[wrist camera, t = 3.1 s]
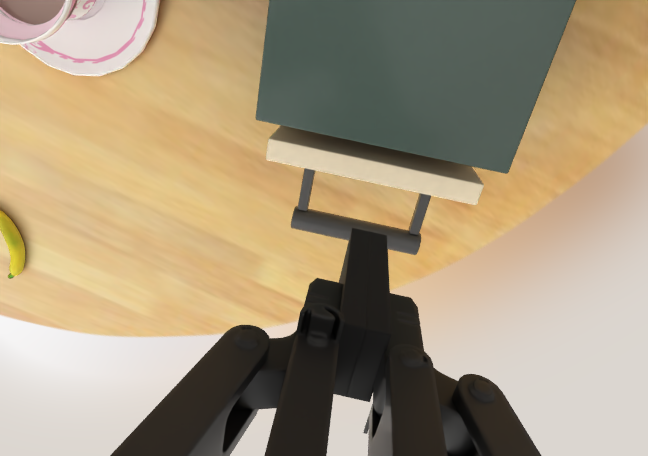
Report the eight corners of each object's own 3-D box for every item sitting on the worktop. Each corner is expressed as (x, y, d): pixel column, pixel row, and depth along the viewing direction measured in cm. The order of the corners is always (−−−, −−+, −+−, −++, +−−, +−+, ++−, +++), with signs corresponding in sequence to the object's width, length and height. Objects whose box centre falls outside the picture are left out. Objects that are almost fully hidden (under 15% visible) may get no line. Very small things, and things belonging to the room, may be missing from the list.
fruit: (5, 198, 36) (-23, 203, 37) (-7, 204, 35) (-36, 208, 36) (43, 272, 39) (16, 275, 40) (33, 278, 38) (5, 281, 38)
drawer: (432, 226, 32) (447, 283, 25) (281, 193, 32) (254, 240, 25) (530, -69, 24) (593, -107, 17) (328, -110, 24) (308, -165, 17)
